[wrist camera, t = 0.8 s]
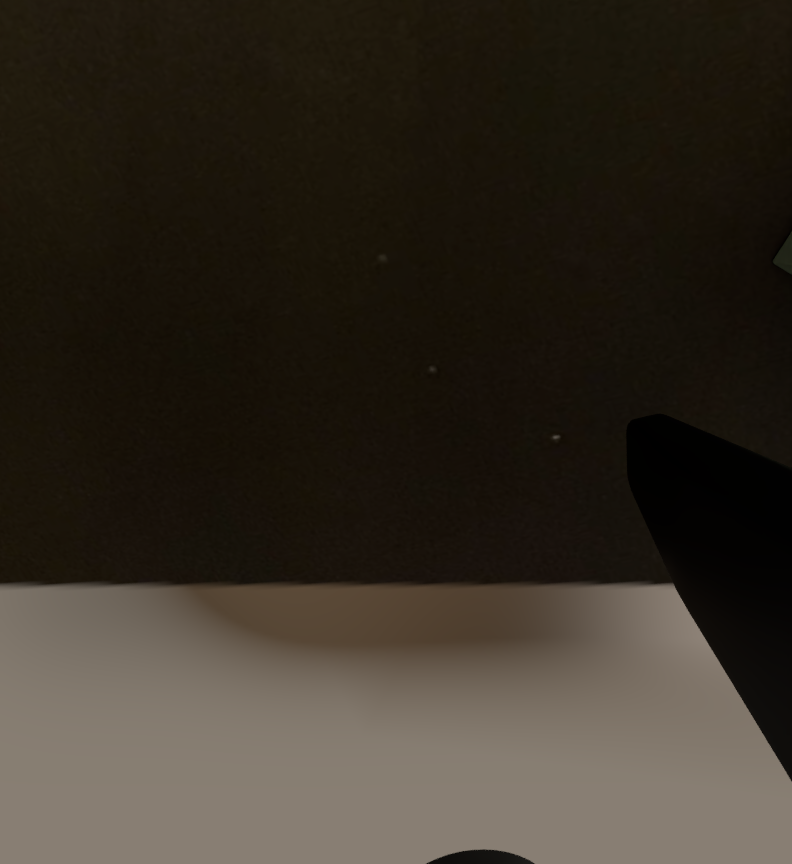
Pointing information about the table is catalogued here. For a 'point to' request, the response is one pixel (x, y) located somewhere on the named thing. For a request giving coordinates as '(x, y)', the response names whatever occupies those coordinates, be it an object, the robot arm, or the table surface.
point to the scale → (785, 256)
